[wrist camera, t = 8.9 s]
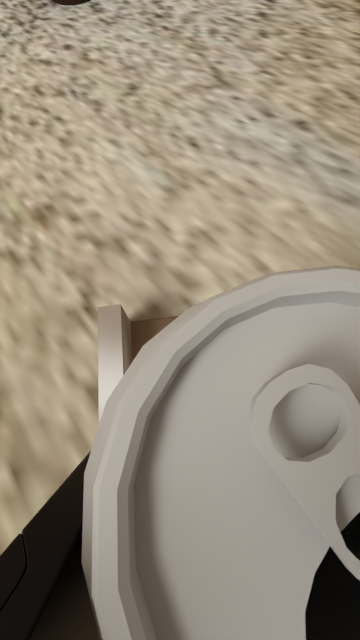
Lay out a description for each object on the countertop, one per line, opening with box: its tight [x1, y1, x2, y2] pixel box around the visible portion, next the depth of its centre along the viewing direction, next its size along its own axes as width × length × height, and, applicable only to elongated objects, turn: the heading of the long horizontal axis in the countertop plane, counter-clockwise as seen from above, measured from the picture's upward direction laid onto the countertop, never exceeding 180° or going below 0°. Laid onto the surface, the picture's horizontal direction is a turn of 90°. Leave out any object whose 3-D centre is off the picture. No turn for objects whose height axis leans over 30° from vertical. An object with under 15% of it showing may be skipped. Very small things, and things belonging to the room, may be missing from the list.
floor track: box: [98, 304, 178, 424], centre depth 15 cm, size 16×12×4 cm
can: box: [82, 266, 360, 640], centre depth 9 cm, size 8×8×12 cm
